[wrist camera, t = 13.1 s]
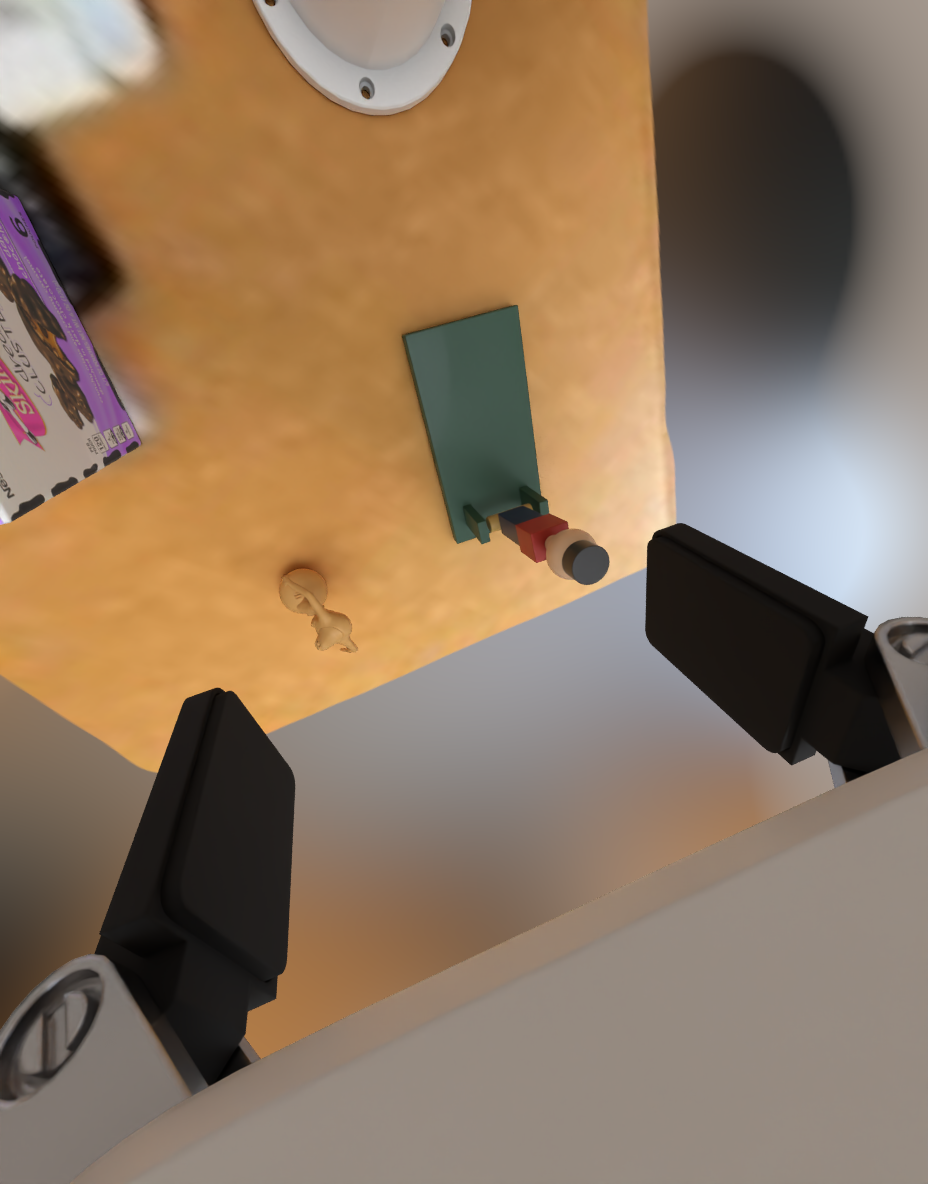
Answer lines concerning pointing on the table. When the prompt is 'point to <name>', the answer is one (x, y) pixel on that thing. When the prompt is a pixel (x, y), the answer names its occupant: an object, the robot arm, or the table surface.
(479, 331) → the stand
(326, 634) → the figurine
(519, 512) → the toy soldier
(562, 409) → the table surface
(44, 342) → the candy box
